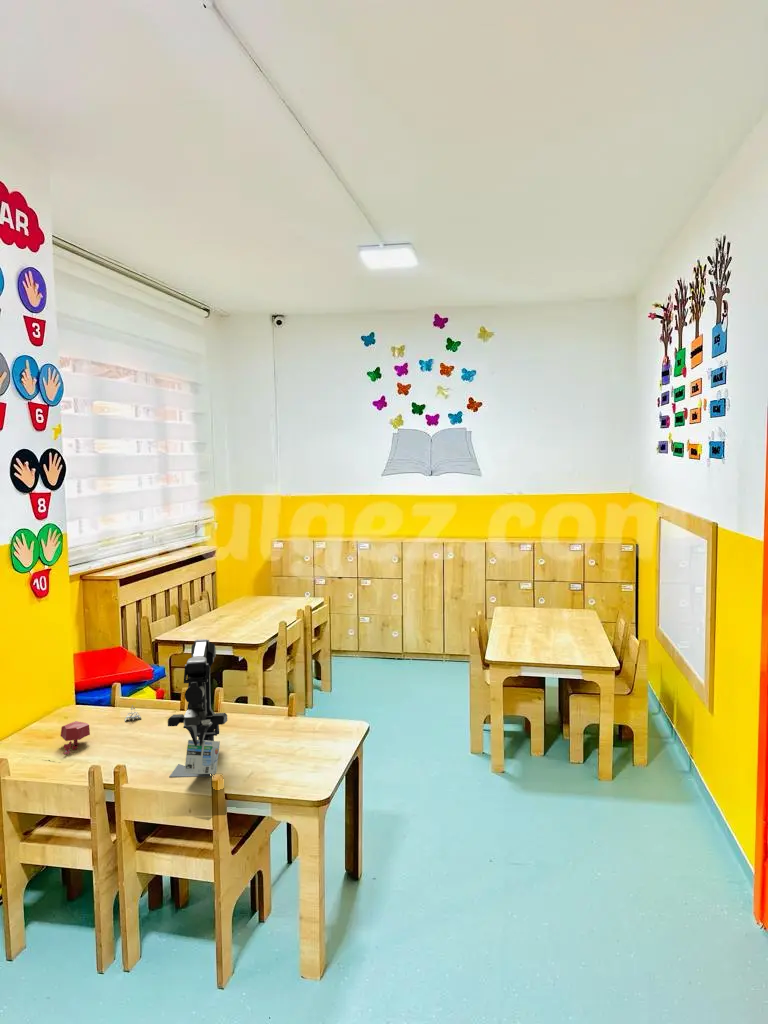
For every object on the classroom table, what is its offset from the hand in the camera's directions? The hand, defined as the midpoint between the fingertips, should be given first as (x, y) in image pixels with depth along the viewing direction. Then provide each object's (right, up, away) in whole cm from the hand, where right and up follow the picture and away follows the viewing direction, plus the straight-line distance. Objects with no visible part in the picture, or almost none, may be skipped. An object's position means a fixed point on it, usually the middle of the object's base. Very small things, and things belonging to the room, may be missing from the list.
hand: (198, 745), depth 246 cm
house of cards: (-43, -10, +65) cm, 78 cm away
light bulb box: (0, -11, +3) cm, 11 cm away
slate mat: (-1, -13, +11) cm, 17 cm away
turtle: (-56, -13, +32) cm, 66 cm away
